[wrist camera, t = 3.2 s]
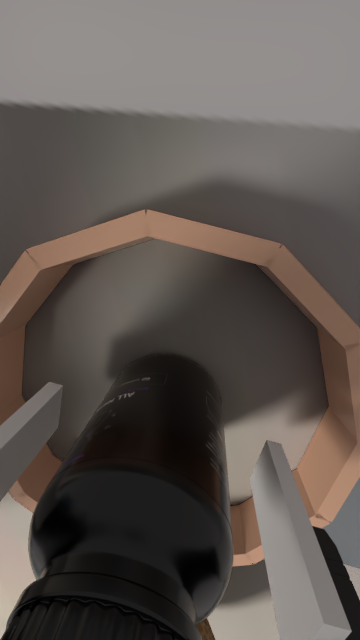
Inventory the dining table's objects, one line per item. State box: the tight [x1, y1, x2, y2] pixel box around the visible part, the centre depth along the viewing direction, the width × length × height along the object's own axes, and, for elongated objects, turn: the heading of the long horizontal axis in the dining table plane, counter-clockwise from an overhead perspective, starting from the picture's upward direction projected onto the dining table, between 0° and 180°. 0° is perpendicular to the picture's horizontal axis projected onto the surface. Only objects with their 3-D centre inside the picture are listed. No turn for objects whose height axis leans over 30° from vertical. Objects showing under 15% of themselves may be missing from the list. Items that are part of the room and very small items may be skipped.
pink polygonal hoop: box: [0, 209, 360, 566], centre depth 15 cm, size 21×21×3 cm
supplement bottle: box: [1, 354, 233, 640], centre depth 11 cm, size 7×7×12 cm
